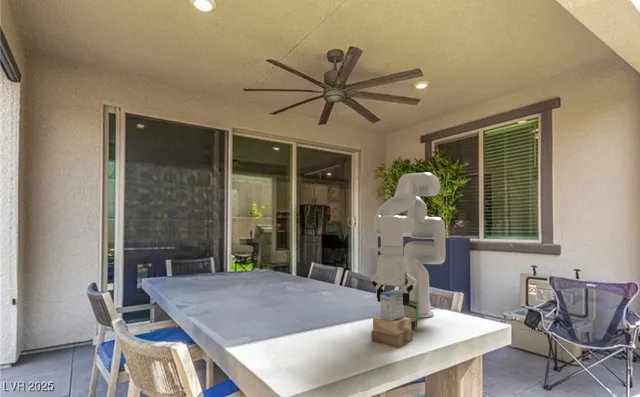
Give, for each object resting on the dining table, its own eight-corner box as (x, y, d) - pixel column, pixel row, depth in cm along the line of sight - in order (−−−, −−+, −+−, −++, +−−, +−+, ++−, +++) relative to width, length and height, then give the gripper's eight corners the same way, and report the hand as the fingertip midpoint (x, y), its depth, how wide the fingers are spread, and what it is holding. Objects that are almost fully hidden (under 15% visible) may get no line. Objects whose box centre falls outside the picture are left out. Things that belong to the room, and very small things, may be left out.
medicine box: (393, 314, 125) (393, 289, 126) (405, 316, 122) (404, 291, 123) (380, 319, 120) (379, 292, 121) (391, 321, 117) (390, 294, 118)
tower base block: (386, 336, 128) (386, 324, 128) (412, 341, 121) (412, 329, 122) (371, 343, 120) (371, 330, 120) (398, 349, 114) (398, 336, 114)
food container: (426, 329, 134) (426, 301, 135) (418, 332, 130) (418, 304, 131) (397, 323, 143) (397, 297, 144) (389, 326, 138) (389, 299, 139)
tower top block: (390, 325, 127) (390, 313, 127) (411, 330, 120) (411, 318, 120) (373, 329, 121) (372, 317, 122) (393, 335, 114) (393, 323, 115)
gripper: (364, 251, 125) (365, 301, 124) (411, 253, 115) (412, 308, 113) (375, 250, 131) (375, 298, 130) (420, 252, 120) (421, 304, 119)
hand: (392, 302), depth 121 cm, fingers open, 9 cm apart
